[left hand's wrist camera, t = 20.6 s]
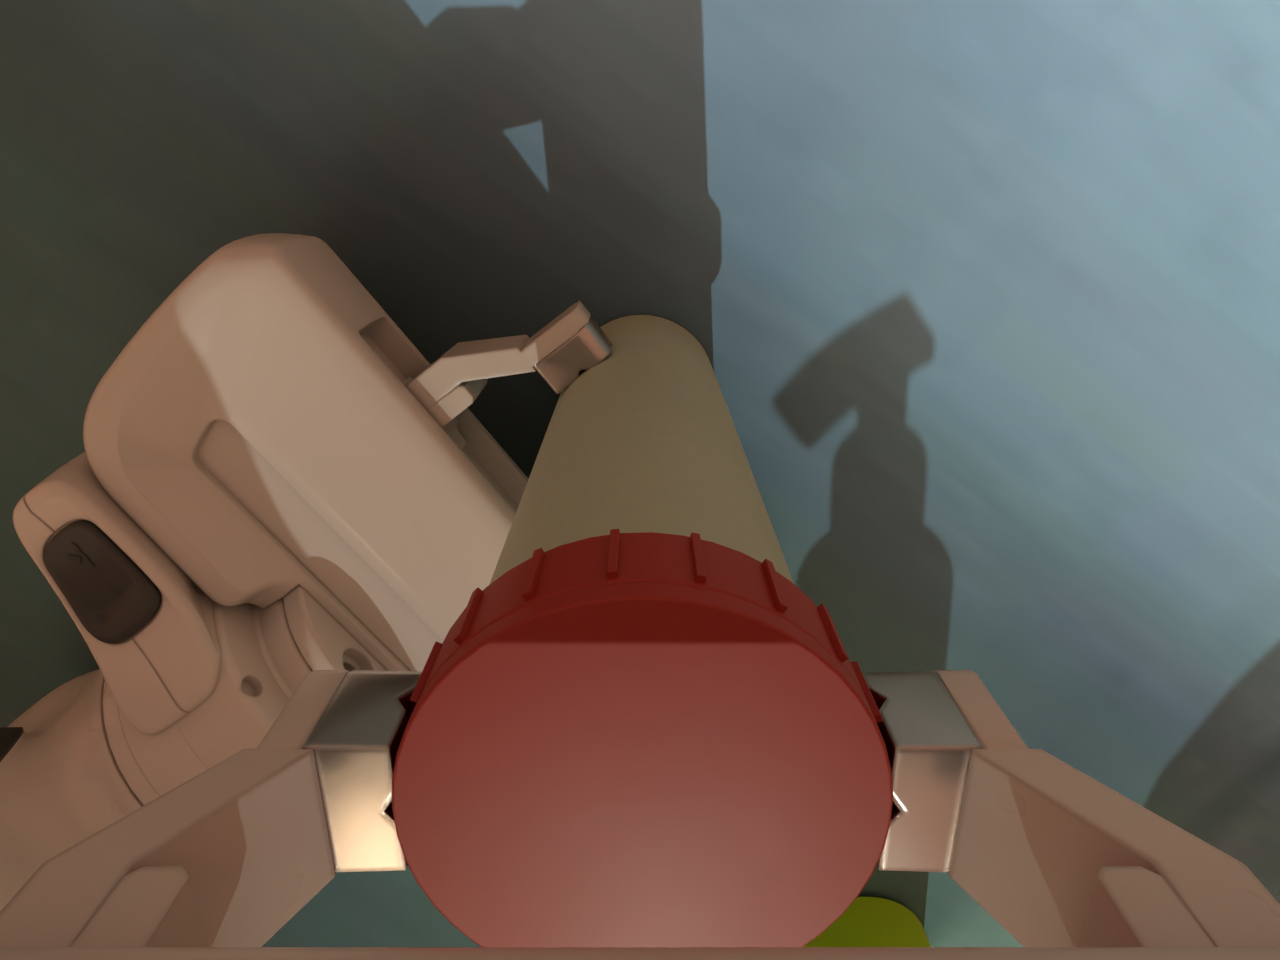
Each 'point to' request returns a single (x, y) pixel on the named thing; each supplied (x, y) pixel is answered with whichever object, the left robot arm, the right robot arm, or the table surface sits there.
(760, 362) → the table surface
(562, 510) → the jar
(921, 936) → the soap dispenser
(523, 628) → the lid
